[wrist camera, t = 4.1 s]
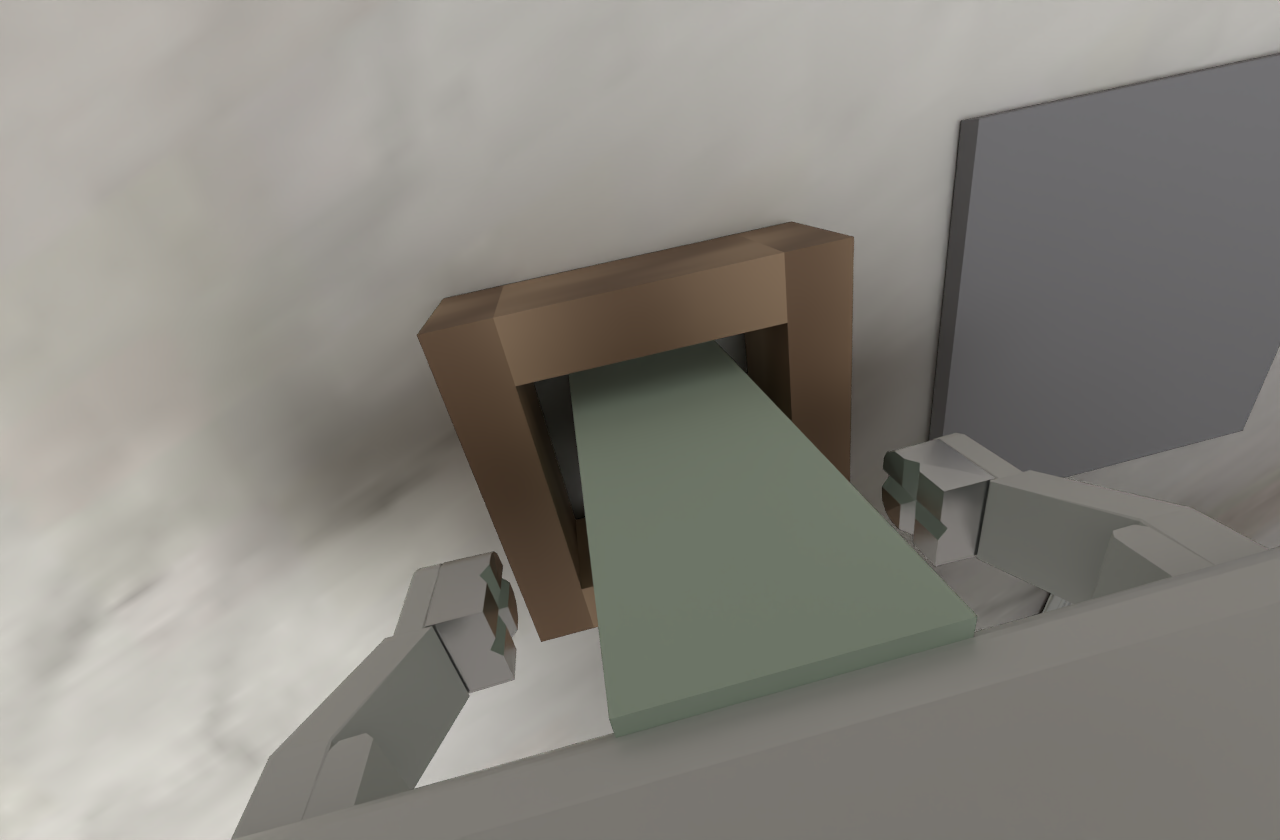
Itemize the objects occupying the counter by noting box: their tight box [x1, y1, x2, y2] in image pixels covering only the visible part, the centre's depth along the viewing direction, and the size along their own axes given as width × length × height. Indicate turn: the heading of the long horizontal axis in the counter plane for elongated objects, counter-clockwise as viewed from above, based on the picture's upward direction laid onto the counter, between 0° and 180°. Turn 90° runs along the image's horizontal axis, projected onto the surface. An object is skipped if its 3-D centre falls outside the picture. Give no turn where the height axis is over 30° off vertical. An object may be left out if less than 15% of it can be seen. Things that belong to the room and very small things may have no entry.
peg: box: [569, 340, 977, 738], centre depth 11 cm, size 4×4×10 cm
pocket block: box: [417, 222, 854, 642], centre depth 14 cm, size 9×9×3 cm
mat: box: [929, 53, 1280, 478], centre depth 16 cm, size 12×12×1 cm
